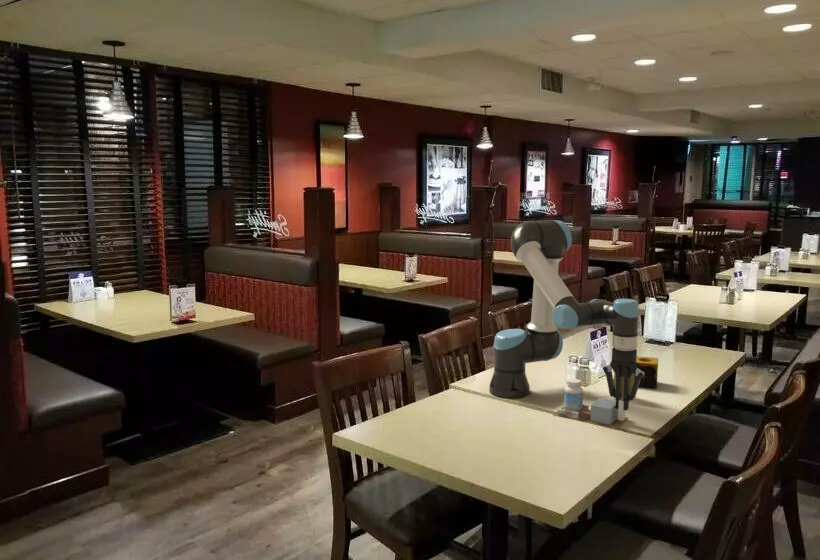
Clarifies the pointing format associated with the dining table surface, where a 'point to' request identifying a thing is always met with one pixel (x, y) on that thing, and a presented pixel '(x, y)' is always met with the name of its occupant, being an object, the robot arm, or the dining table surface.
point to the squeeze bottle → (623, 383)
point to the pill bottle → (573, 396)
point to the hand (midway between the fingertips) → (621, 418)
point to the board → (586, 417)
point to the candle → (648, 371)
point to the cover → (604, 411)
